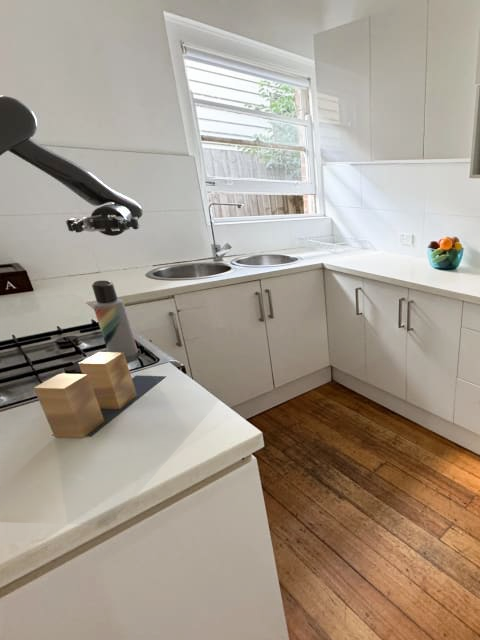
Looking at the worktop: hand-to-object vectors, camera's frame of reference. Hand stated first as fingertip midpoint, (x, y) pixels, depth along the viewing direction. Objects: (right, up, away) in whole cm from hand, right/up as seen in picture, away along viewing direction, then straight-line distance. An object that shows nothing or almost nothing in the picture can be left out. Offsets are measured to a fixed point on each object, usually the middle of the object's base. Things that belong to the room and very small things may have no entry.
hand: (98, 227), depth 91 cm
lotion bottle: (+4, -32, +3) cm, 33 cm away
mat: (+15, -40, -14) cm, 45 cm away
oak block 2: (+15, -40, -14) cm, 45 cm away
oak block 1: (+15, -43, -23) cm, 51 cm away
